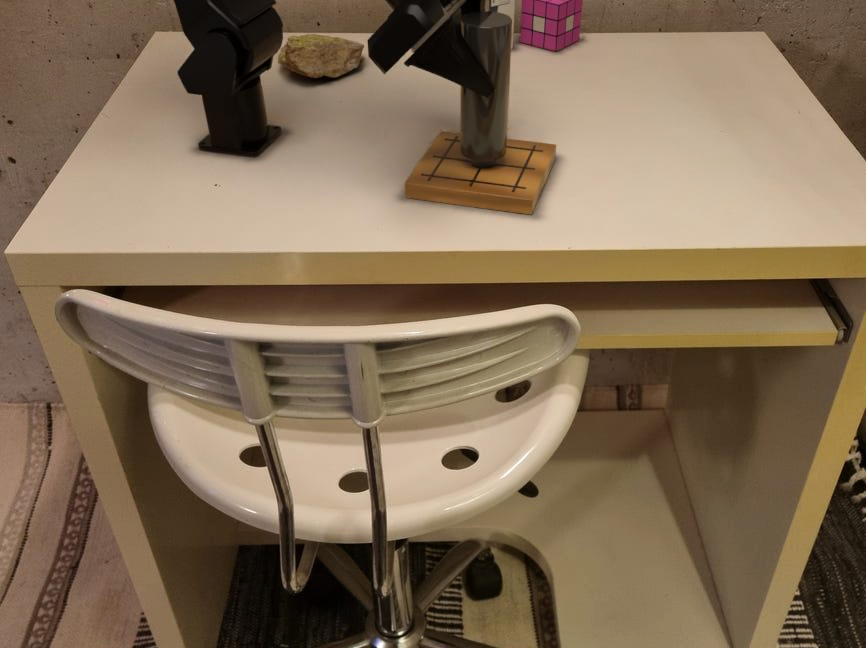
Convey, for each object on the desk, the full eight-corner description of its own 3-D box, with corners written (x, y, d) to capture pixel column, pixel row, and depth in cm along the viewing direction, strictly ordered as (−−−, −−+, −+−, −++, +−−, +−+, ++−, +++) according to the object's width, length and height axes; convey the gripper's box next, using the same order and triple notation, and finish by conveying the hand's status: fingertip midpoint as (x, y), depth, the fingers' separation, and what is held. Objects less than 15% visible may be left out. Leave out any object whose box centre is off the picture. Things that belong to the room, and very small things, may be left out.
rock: (354, 89, 98) (356, 56, 96) (266, 75, 97) (267, 41, 95) (366, 63, 109) (369, 33, 107) (288, 50, 108) (289, 20, 106)
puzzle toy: (543, 31, 114) (546, -14, 110) (579, 40, 112) (583, -6, 108) (519, 42, 111) (521, -4, 107) (555, 52, 108) (559, 5, 104)
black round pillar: (465, 163, 78) (466, 28, 70) (456, 143, 81) (455, 12, 73) (511, 159, 79) (518, 25, 71) (500, 139, 82) (505, 9, 74)
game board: (531, 215, 76) (532, 199, 75) (405, 197, 78) (404, 182, 77) (555, 158, 85) (556, 143, 84) (441, 144, 87) (440, 129, 86)
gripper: (398, -117, 59) (541, 63, 64) (474, -158, 72) (588, -7, 77) (307, -8, 65) (443, 147, 70) (392, -64, 79) (502, 69, 84)
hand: (499, 84), depth 75 cm, fingers closed on black round pillar, 4 cm apart
